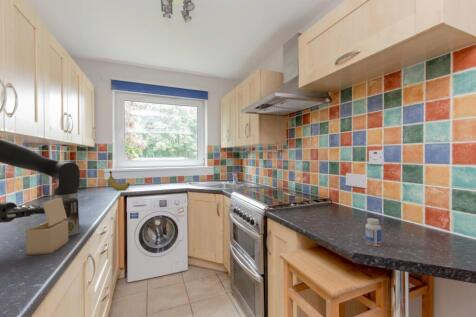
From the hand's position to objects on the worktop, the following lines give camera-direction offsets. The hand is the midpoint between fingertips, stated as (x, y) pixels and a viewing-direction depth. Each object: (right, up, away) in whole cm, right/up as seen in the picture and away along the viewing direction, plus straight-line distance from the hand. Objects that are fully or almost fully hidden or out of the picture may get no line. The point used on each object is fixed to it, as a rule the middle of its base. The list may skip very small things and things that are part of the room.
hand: (48, 210), depth 86 cm
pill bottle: (+129, -14, +1) cm, 130 cm away
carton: (0, -15, 0) cm, 15 cm away
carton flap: (+4, -5, +1) cm, 6 cm away
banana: (-48, -13, +140) cm, 149 cm away
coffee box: (-4, -15, +14) cm, 21 cm away
